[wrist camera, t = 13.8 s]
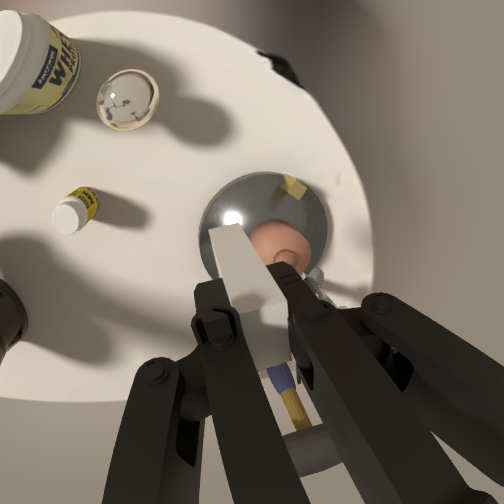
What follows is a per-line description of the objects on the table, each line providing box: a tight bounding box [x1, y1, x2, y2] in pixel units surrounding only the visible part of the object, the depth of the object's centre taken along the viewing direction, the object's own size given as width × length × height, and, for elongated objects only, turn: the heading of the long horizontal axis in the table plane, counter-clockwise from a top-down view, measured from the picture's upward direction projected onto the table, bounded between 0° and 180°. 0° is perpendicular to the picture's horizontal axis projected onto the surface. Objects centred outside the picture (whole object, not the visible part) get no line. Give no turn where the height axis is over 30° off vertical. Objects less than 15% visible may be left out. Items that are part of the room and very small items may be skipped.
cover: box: [248, 219, 311, 275], centre depth 39 cm, size 8×8×6 cm
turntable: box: [198, 172, 327, 280], centre depth 40 cm, size 20×20×6 cm
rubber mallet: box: [267, 362, 343, 477], centre depth 40 cm, size 12×8×30 cm, turn 89°
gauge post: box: [303, 267, 348, 309], centre depth 43 cm, size 6×6×16 cm
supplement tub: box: [0, 10, 81, 114], centre depth 17 cm, size 12×12×17 cm
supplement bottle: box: [52, 187, 99, 236], centre depth 30 cm, size 5×5×8 cm
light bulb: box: [96, 69, 160, 131], centre depth 25 cm, size 7×7×12 cm
